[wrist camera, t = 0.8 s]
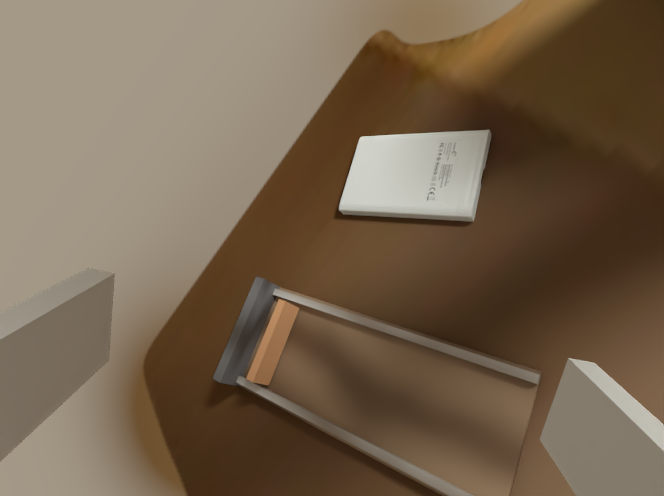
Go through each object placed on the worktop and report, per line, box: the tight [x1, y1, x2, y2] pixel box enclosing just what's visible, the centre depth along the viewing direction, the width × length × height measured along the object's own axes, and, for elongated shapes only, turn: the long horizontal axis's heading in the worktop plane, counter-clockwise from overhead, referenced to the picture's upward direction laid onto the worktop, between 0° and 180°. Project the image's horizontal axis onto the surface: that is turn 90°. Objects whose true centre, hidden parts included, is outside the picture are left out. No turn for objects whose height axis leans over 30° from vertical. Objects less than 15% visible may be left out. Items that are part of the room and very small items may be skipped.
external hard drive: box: [339, 130, 492, 222], centre depth 39 cm, size 2×8×12 cm
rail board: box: [213, 277, 542, 496], centre depth 33 cm, size 10×24×3 cm, turn 65°
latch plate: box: [246, 299, 299, 385], centre depth 38 cm, size 7×1×2 cm, turn 155°
